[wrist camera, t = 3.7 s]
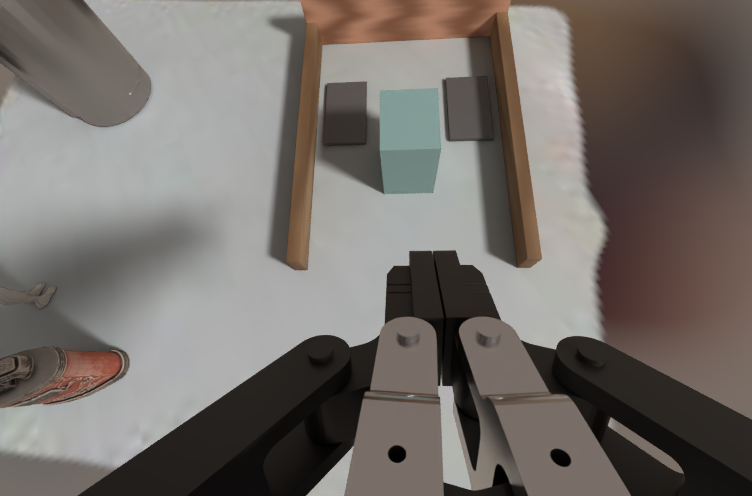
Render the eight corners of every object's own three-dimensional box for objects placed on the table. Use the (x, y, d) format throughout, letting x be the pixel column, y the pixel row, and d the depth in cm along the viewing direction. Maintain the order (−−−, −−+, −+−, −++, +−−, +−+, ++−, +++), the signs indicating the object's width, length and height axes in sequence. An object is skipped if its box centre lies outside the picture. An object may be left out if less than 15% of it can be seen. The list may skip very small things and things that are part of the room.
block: (384, 194, 37) (379, 150, 30) (384, 143, 39) (379, 90, 32) (433, 192, 37) (441, 148, 29) (430, 142, 39) (437, 88, 31)
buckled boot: (47, 412, 33) (-97, 432, 23) (44, 375, 34) (-95, 380, 24) (132, 377, 33) (25, 383, 24) (127, 342, 34) (22, 334, 25)
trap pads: (324, 145, 40) (323, 143, 39) (328, 85, 42) (327, 83, 42) (492, 139, 38) (493, 137, 38) (485, 78, 41) (486, 76, 40)
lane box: (295, 270, 35) (275, 252, 30) (313, 37, 44) (300, -11, 39) (530, 267, 34) (556, 248, 28) (499, 27, 43) (514, -24, 37)
